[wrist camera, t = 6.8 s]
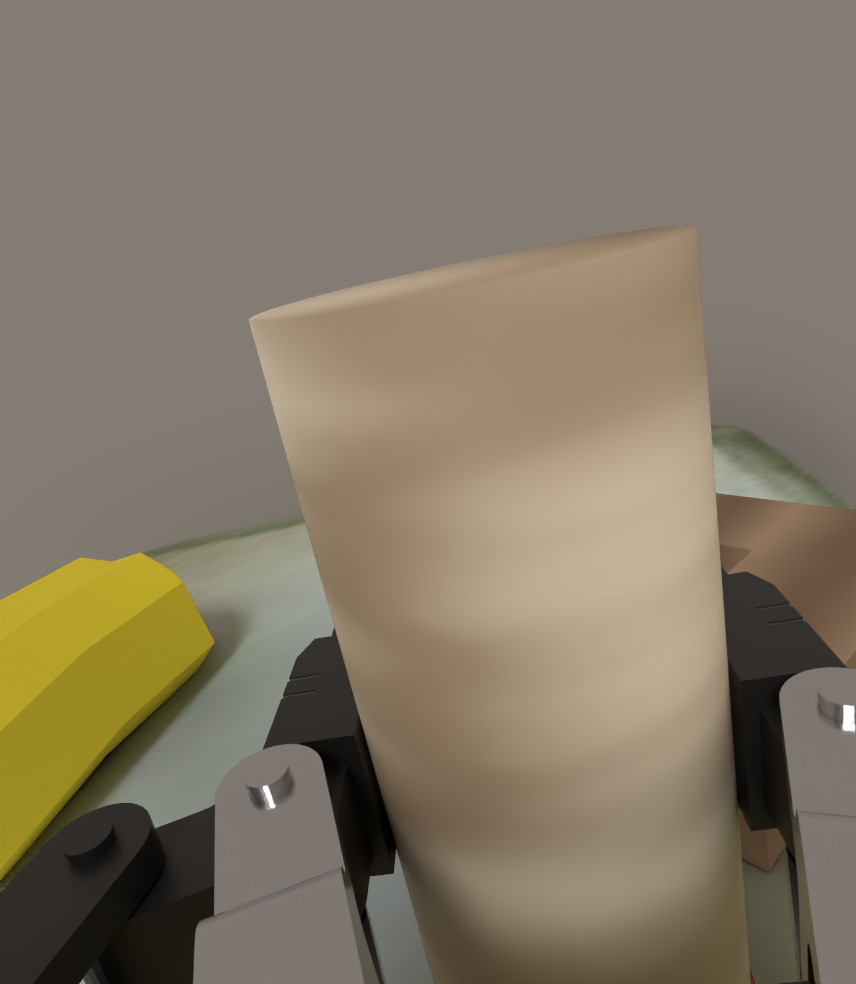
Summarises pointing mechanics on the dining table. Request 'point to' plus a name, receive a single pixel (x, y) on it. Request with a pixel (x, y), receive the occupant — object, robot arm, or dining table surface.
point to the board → (794, 588)
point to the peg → (531, 600)
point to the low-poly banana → (84, 678)
